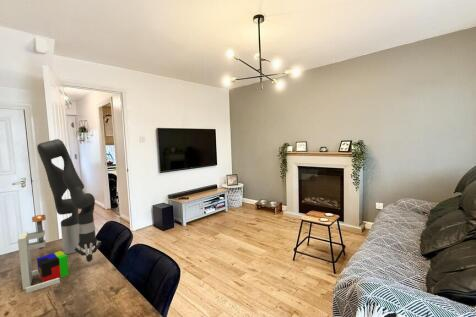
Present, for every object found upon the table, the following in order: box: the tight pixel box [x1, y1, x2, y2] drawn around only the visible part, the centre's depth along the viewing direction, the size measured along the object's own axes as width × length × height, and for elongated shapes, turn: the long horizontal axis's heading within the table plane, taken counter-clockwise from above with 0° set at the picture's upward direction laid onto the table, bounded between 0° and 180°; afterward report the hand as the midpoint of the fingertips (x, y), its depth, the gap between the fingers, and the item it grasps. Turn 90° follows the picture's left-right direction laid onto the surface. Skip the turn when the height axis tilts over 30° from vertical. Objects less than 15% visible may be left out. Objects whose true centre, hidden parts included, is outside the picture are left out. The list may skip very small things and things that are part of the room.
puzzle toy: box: [36, 250, 70, 283], centre depth 116 cm, size 10×10×10 cm
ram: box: [31, 214, 47, 250], centre depth 113 cm, size 5×5×16 cm
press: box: [17, 229, 61, 294], centre depth 113 cm, size 14×18×24 cm
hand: (89, 261), depth 126 cm, fingers closed
